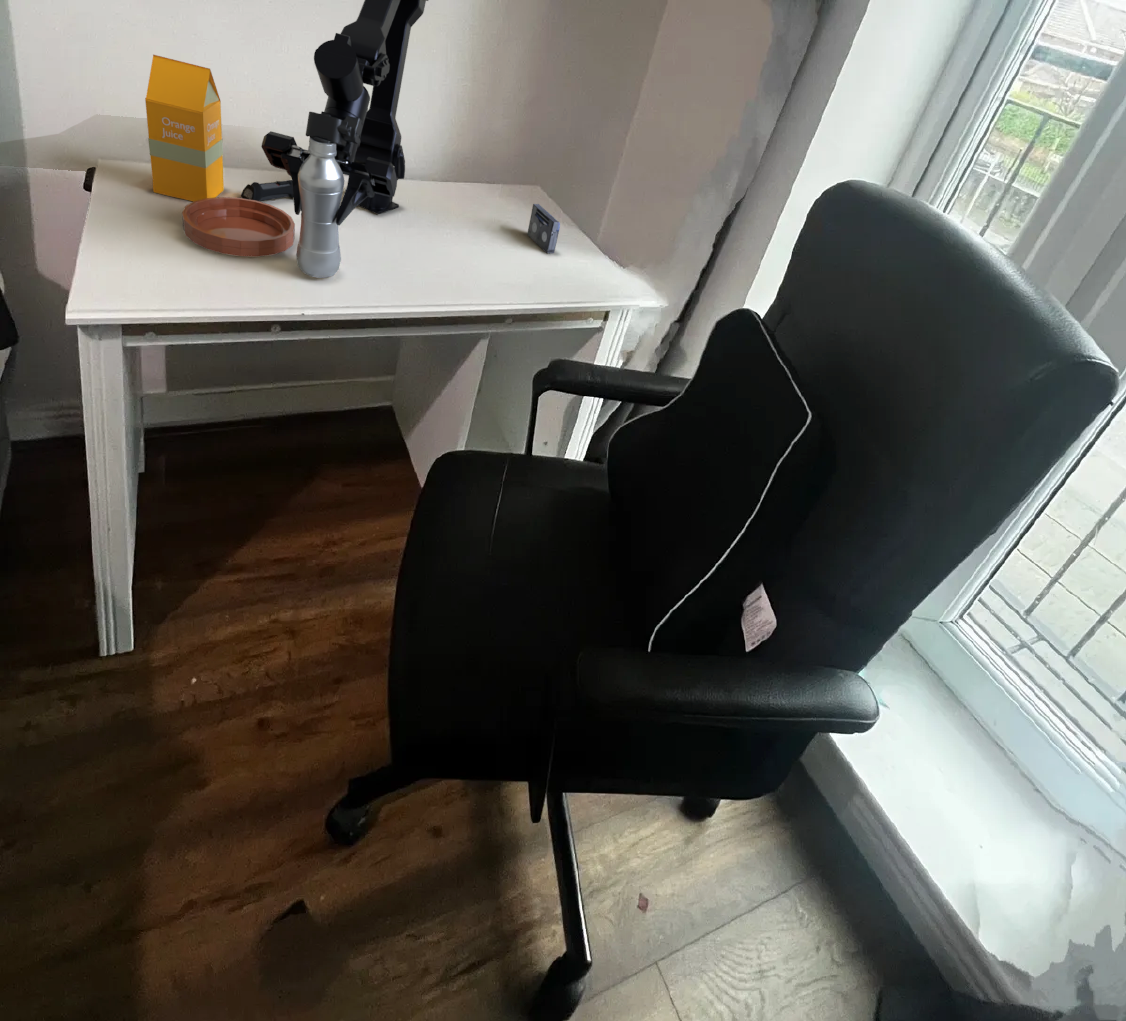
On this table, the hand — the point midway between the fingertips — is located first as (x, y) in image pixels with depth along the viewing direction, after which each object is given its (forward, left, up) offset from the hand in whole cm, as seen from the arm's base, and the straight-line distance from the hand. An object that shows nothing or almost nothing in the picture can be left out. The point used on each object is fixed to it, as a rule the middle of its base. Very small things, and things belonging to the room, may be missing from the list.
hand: (316, 218), depth 119 cm
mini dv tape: (-45, +15, -9) cm, 49 cm away
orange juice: (-7, -33, -9) cm, 35 cm away
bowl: (-1, -16, -9) cm, 18 cm away
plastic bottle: (-1, -1, -9) cm, 9 cm away
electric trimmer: (-19, -24, -9) cm, 32 cm away
